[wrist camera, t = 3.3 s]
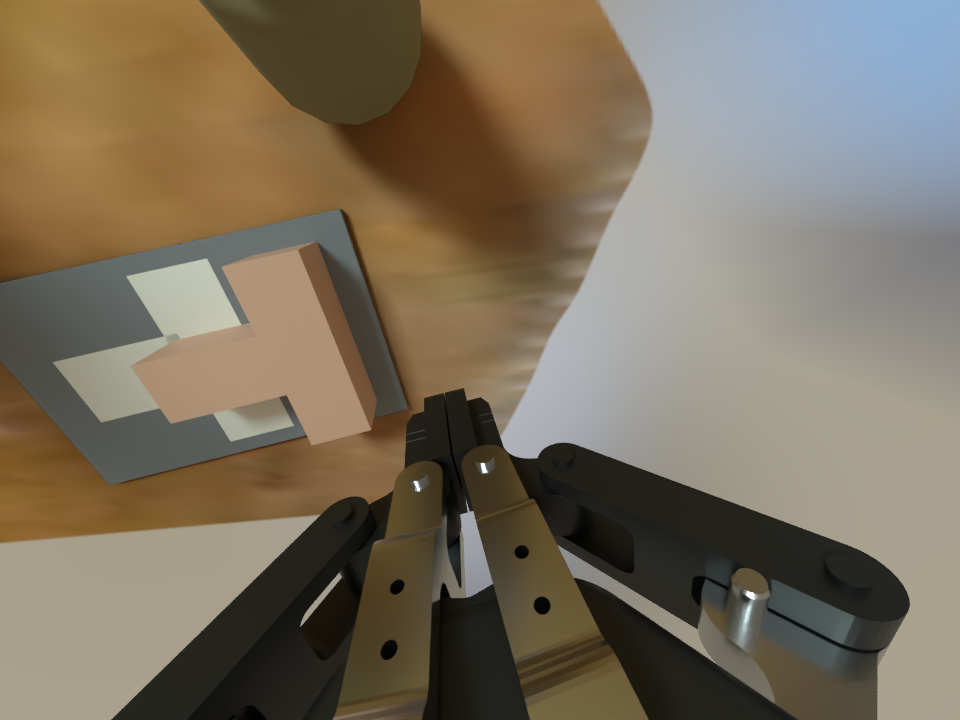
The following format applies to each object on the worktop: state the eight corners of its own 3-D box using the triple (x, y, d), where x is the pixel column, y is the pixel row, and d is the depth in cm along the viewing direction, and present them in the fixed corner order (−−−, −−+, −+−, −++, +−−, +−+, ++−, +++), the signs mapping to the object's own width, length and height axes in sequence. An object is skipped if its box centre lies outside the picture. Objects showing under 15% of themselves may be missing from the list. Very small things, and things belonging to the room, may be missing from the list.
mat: (-48, 293, 21) (-58, 295, 21) (341, 208, 22) (339, 209, 22) (114, 480, 28) (109, 485, 27) (407, 406, 29) (407, 409, 29)
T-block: (137, 281, 22) (81, 297, 18) (316, 241, 23) (297, 249, 19) (233, 436, 27) (205, 472, 23) (377, 400, 28) (371, 430, 24)
